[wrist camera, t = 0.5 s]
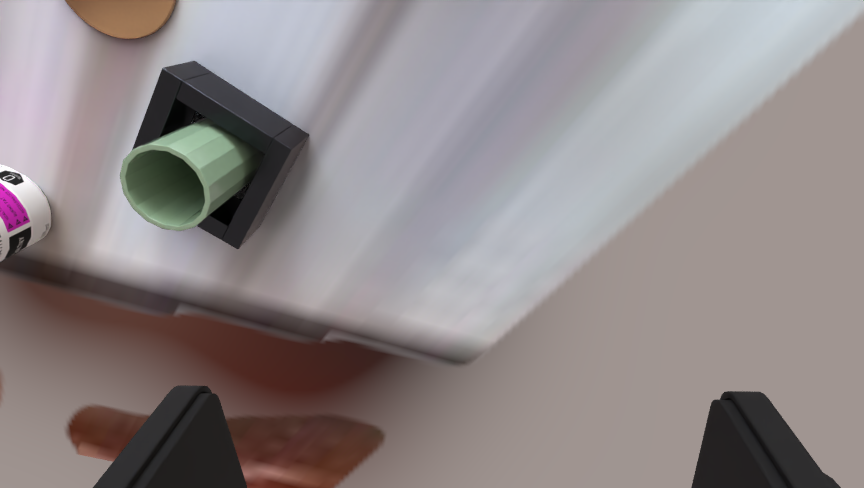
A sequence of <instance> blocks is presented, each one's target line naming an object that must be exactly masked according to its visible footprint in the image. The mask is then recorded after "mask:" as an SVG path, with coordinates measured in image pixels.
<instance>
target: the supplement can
mask: <svg viewBox="0 0 864 488" xmlns="http://www.w3.org/2000/svg"><path fill="white" fill-rule="evenodd" d="M50 227H51V209H50V206H49V204H48V201H47V198H46V197H45V195H44V194H43V192H42V191H41V190H40V188H39V187H38V186H37V185H36V184H35V183H34V182H33V181H31V180H30V179H29V178H28V177H27V176H25V175H23V174H21V173H19V172H17V171H15V170H13V169H11V168H9V167H7V166H3V165H0V262H1V261H3V260H5V259H7V258H9V257H10V256H12V255H14V254H16V253H18V252H19V251H21V250H23V249H25V248H27V247H29V246H30V245H32V244H34V243H36V242H37V241H39V240H41V239H42V238H44V237H45V236H46V235H47V233H48V231H49V229H50Z"/></svg>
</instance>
